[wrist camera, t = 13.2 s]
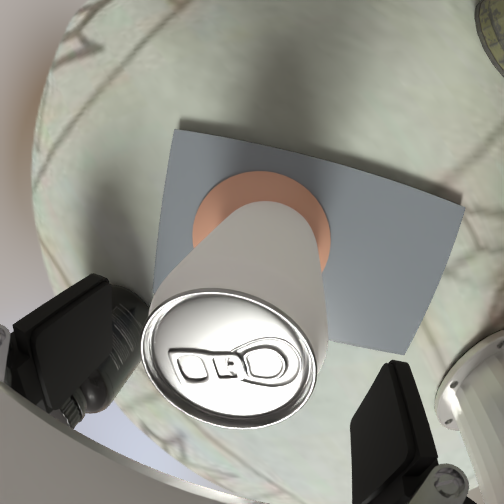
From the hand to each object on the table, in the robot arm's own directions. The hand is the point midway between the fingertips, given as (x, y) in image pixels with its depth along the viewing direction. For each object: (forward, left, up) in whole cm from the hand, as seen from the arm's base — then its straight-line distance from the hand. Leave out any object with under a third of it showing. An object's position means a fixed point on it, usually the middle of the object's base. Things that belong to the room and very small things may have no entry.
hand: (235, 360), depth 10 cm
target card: (-2, 0, -12) cm, 13 cm away
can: (0, 0, -12) cm, 12 cm away
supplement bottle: (+11, +10, -13) cm, 19 cm away
